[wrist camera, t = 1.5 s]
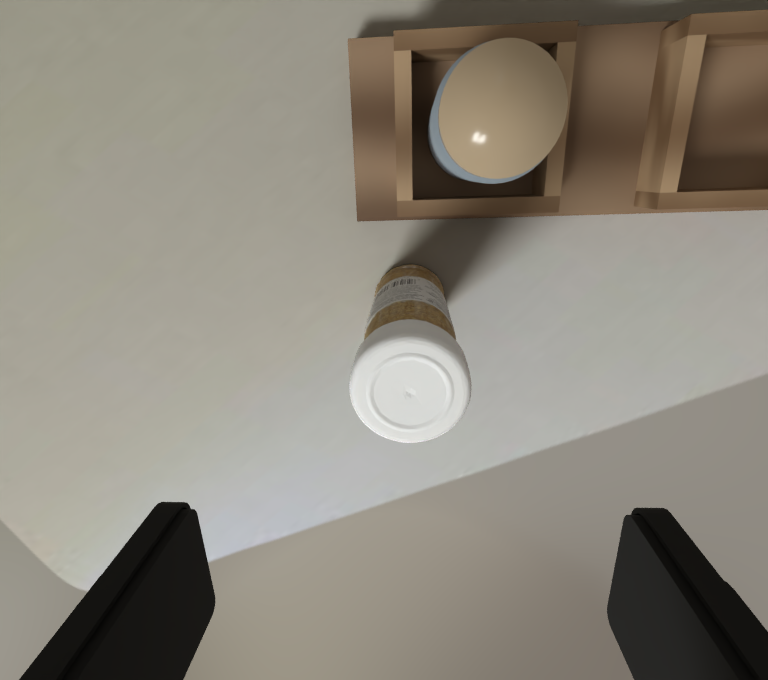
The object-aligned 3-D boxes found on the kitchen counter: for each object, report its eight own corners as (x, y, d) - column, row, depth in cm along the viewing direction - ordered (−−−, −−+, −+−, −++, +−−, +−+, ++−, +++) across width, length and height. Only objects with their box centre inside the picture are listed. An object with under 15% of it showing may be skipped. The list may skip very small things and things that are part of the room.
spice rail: (351, 46, 24) (340, 23, 20) (866, 18, 22) (959, -13, 18) (360, 218, 27) (351, 226, 23) (811, 205, 25) (880, 211, 22)
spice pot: (426, 79, 23) (434, 34, 15) (525, 75, 23) (581, 27, 15) (426, 182, 25) (433, 186, 17) (517, 179, 24) (565, 182, 17)
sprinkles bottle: (380, 334, 30) (358, 452, 17) (370, 267, 28) (336, 343, 15) (449, 325, 29) (477, 442, 17) (442, 257, 28) (468, 327, 15)
